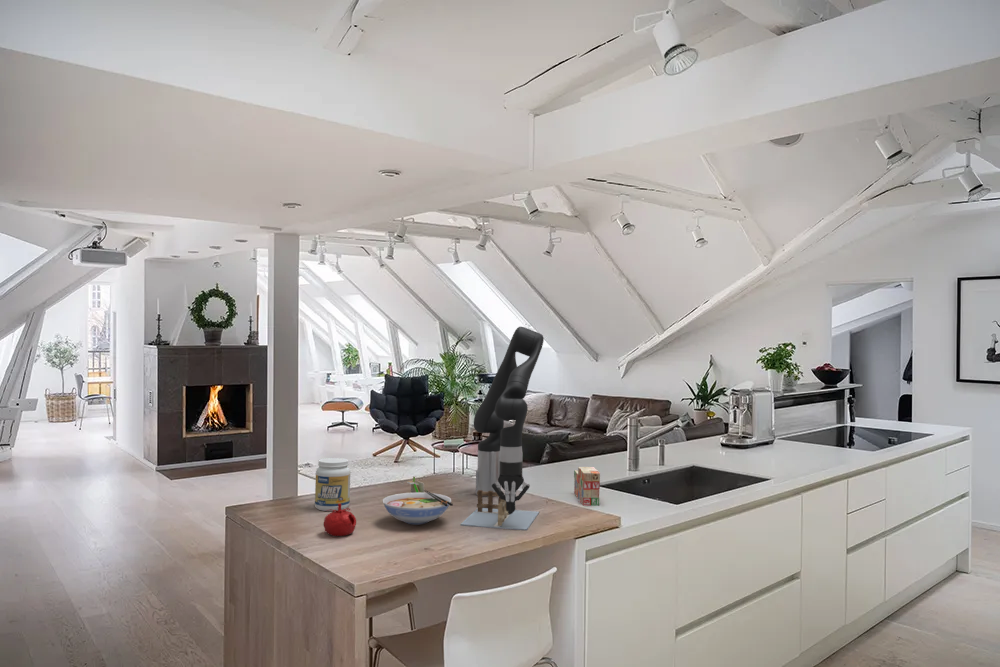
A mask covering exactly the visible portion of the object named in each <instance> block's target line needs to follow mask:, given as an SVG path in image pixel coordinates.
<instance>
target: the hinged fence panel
mask: <svg viewBox="0 0 1000 667" xmlns="http://www.w3.org/2000/svg"><path fill="white" fill-rule="evenodd" d="M497 505H498V525H500V526H502V522H504V521H505V518H507V515H508V514H509V513H508V511H506V501H505V500H501V502H500V503H498V504H497Z"/></svg>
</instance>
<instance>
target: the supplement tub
mask: <svg viewBox="0 0 1000 667" xmlns="http://www.w3.org/2000/svg"><path fill="white" fill-rule="evenodd" d="M317 465H318V468H316V470H315V488H314V493H315V494H314V506H315V508H316V509H317V510H319V511H323V512H333V510H337V511H338V508H337V507H339V506H338V504H339V503H341V510H343V509H346V508H350V505H351V504H350V503H351V500H350V499H351V473H352V472H351V468H350V467H348V466H349V459H347V458H344V457H343V458H341V457H328V458H321V459H319V460H318V463H317ZM330 509H332V510H330ZM327 510H328V511H327ZM346 510H347V509H346Z"/></svg>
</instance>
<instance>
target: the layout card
mask: <svg viewBox="0 0 1000 667" xmlns="http://www.w3.org/2000/svg"><path fill="white" fill-rule="evenodd" d="M539 514H540V511H535V510H521V509H515V511H514V512H513V514H512V513H511V514H509V515H507V518H505V521H504V522H502V526H500V525H498V509H493V512H492V513H489V512H488V508H482V512H478V508H477V507H476V509H475V510H474V511H473V512H471V514H470V515H468V516H467V517H466V518H465V519H464V520H463V521H462V522H461V523H460V526H463V527H478V528H491V529H504V530H518V531H528V530H529V528H530V527H531V525H532V524H533V523H534V521H535V519H536V518H537V517H538V515H539Z"/></svg>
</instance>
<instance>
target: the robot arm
mask: <svg viewBox="0 0 1000 667" xmlns="http://www.w3.org/2000/svg"><path fill="white" fill-rule="evenodd" d="M544 340H545V338H544V335H543V334H542V333H540V332H538V331H535V330H533V329H530V328H527V327H524V326H518V327H517V328H516V329H515V331H514V332H513V335H512V336H511V339H510V342H509V344H508V347H507V349H506V352H505V355H504V356H503V357H504V358H503V360H502V362H501V363H500V365H499V368H498V370H497V372H496V373H495V376H494V378H493V380H492V383H491V385H490V386H489V390H488V391H487V394H486V395H485V397H484V399H483V400H482V402H481V403H480V406H479V407H478V409H477V410H476V412H475V414H474V418H473V428H474V430H475V431H476V432H477V433H480V434H488V436H487V437H486V438H484V439H483V440H481V441H480V442H478V444H477V469H476V470H475V495H477V491H478V490H483V491H485V492H488V491H493V492H496V493H497V494H498V496H499V497H500V499H501V500H505V501H506V511H508V513H512V514H513V512H514V511H515V510H516V502H517V501H520V500H521V499H522V497H523V496H524V495H525V494H526V492H528V490H529V488H530V487H531V485H530V483H527V482H525V480H524V476H523V430H524V424H525V420H526V417H527V414H528V408H529V407H528V404H527V401H526V400H524V398H525V397H526V394H527V392H528V387H529V383H530V380H531V376H532V374H533V371H534V370H535V367H536V364H537V363H538V360H539V357H540V354H541V352H542V349H543V345H544ZM516 353H519V354H521V355H524V356H526V357H528V358H527V359H526V360H525V361H524V362H522V363H521V364H519V365H518V364H517V360H516ZM504 421H515V422H514V424H513V425H512V426H506V427H505V426H504V423H505V422H504ZM520 488H521V489H522V490H521V491H520V492H519V494H518V495H517V491H518V490H519V489H520ZM502 489H503V490H504V491H502ZM510 491H511V497H510ZM477 496H478V495H477ZM499 497H498V498H499Z"/></svg>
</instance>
